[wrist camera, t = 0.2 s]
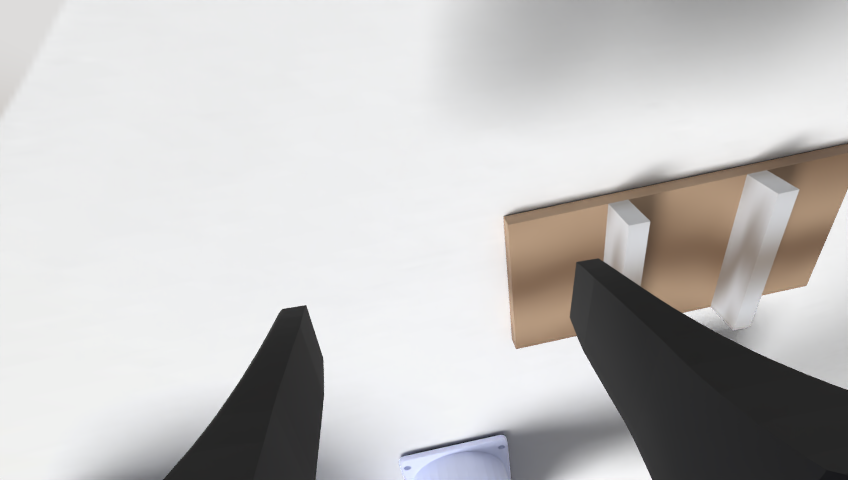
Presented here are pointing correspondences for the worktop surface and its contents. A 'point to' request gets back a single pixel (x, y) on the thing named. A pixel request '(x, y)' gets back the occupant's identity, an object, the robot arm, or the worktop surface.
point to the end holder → (680, 241)
